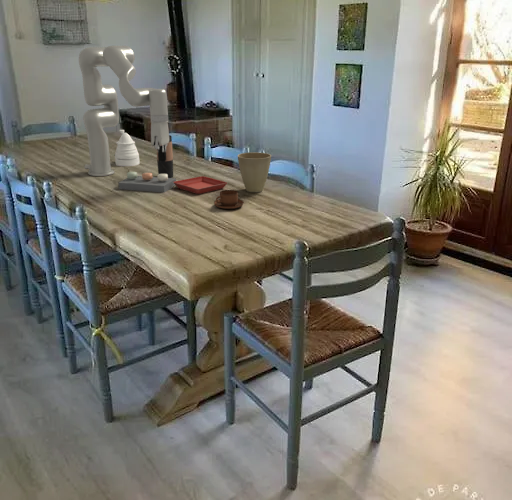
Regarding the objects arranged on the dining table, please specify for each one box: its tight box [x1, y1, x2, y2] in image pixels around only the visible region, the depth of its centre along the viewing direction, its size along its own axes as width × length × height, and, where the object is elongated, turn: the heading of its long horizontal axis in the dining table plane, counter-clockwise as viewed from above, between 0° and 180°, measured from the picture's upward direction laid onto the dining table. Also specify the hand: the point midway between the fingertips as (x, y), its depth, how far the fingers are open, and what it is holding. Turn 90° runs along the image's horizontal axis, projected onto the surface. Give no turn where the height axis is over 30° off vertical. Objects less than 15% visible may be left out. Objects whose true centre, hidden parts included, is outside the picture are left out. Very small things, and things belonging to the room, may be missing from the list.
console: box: [118, 175, 177, 193], centre depth 238 cm, size 22×14×3 cm, turn 77°
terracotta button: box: [141, 172, 154, 180], centre depth 236 cm, size 5×5×2 cm
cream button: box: [156, 174, 168, 181], centre depth 235 cm, size 5×5×2 cm
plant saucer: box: [173, 175, 228, 195], centre depth 237 cm, size 18×18×3 cm
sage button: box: [126, 171, 138, 179], centre depth 238 cm, size 5×5×2 cm
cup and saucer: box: [213, 189, 244, 210], centre depth 210 cm, size 12×12×6 cm
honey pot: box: [114, 129, 141, 167], centre depth 281 cm, size 13×13×18 cm
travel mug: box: [156, 134, 174, 178], centre depth 253 cm, size 8×8×20 cm
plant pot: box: [237, 151, 272, 193], centre depth 231 cm, size 15×15×16 cm
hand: (162, 160), depth 232 cm, fingers closed
